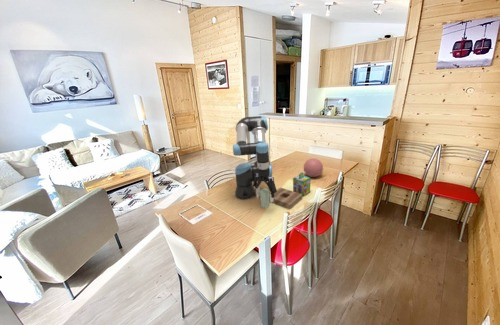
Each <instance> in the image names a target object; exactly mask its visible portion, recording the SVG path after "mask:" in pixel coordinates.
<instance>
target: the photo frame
mask: <svg viewBox="0 0 500 325" xmlns="http://www.w3.org/2000/svg"><path fill="white" fill-rule="evenodd" d="M195 206H197V207H199V208H200V207H201V209H202V210H203V211H204V212H202V213H201V214H198V215H196V216H195V217H193V218H192V219H188V218H187V217H185V216H183V215H182V214H181V213H184V212H186V211H188V210H190V209H191V208H193V207H195ZM178 214H179V215H178V216H180V217H181V216H182V217H181V218H183V219H184V220H185V221H187V222H189V224H191V225H192V226H194V225H196V224H197V223H200V222H201V221H203V220H205V219H206V217H207V218H208V217H211V216H212V215H213V214H214V213H213V212H211V211H210V210H208V209H206V208H204V207H203V206H201V205H199V204H198V203H197V204H195V205H192V206H191V207H189V208H187V209H185V210H182V211H181V212H179V213H178Z"/></svg>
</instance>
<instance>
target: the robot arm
mask: <svg viewBox="0 0 500 325" xmlns="http://www.w3.org/2000/svg"><path fill="white" fill-rule="evenodd" d="M268 129H269V126H268V120H267V117H266V116H264V115H257V116H246V117H242V118H241V119H240V120H238V121H237V123H236V125H235V131H236V140H235V141H236V142H235V143H233V145H232V153H233V155H234V156H239V157H240V156H251V155H255V161H254V163H253V165H252V164H251V163H249V162H244V163H243V162H242V163H240V164H237V165H236V167H235V169H234V170H235V172H234V173H235V182H236V187H235V190H234V191H235V192H234V195H235V197H236V198H237V199H239V200H248V199H249V200H250V199H252V198H253V197H255V196H256V198H259V197H261V196H260V190H261V188H260V185H261V183H262V182H263V183H264V184H265V185H266V187H268V190H269V195H270V202H269V203H272V202H273V201H274V198H273V197H274V193H276V192H277V187H276V184H275V183H276V182H275V181H274V180H275V177H273V164H272V163H271V162H270V154H269V153H270V152H269V151H270V148H269V143H267V142H266V133H267V131H268ZM248 132H250V133H251V134H252V135H253V140H254V142H248Z"/></svg>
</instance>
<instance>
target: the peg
mask: <svg viewBox="0 0 500 325" xmlns="http://www.w3.org/2000/svg"><path fill="white" fill-rule="evenodd" d="M269 195H270V190H269V188H268V189H267V188H265V187H263V188H262V189H260V196H259V197H260V206H261V208H263V209H267V208H270V206H271V205H270V204H271V202H269Z"/></svg>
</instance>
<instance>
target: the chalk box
mask: <svg viewBox="0 0 500 325" xmlns="http://www.w3.org/2000/svg"><path fill="white" fill-rule="evenodd" d="M311 178H312V177H310V176H308V175H307V176H306V175H304V173H303V172H300V173H299V174H298V175H297V176H294V177H293V178H292V187H293V188H292V190H293V192H296V193H300V194H302V197H305V196H306V195H308V194H309V193H311Z"/></svg>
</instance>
